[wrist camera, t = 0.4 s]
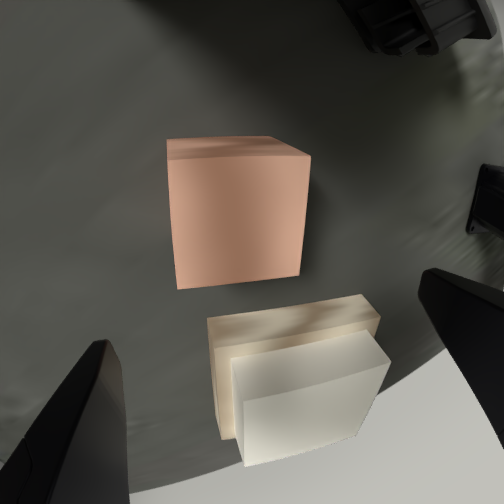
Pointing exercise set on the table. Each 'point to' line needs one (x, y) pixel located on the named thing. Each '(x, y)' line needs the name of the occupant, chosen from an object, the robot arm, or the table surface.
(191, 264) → the terracotta cube
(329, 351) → the cream top slab
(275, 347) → the birch base slab
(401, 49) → the end cap
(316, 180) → the table surface
